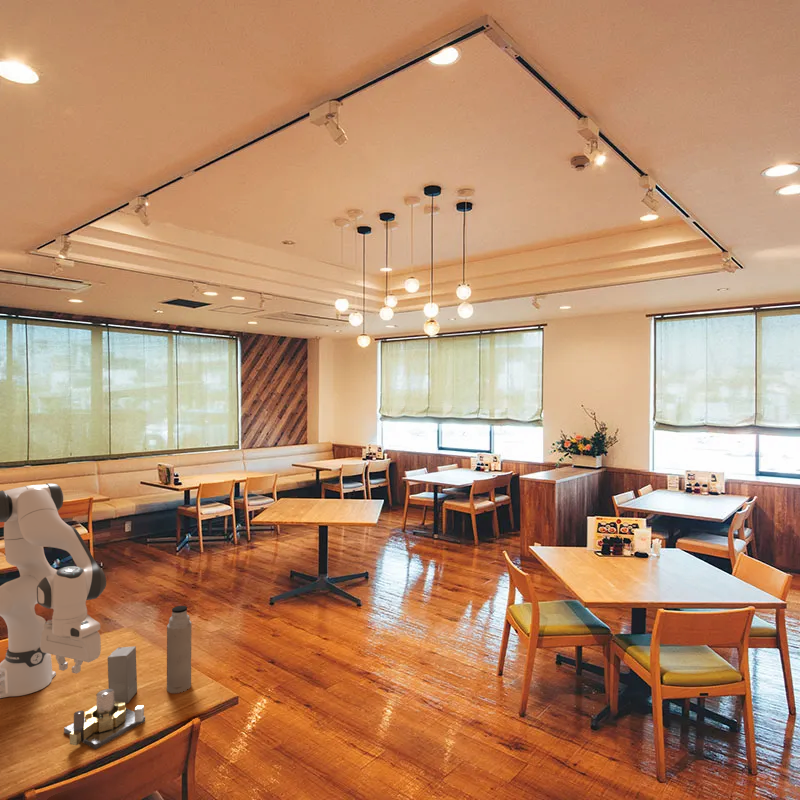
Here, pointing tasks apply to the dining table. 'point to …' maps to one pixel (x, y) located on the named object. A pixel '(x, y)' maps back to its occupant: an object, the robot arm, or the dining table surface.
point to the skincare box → (123, 673)
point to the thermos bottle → (179, 651)
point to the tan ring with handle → (95, 722)
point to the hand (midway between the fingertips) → (69, 670)
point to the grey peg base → (107, 706)
